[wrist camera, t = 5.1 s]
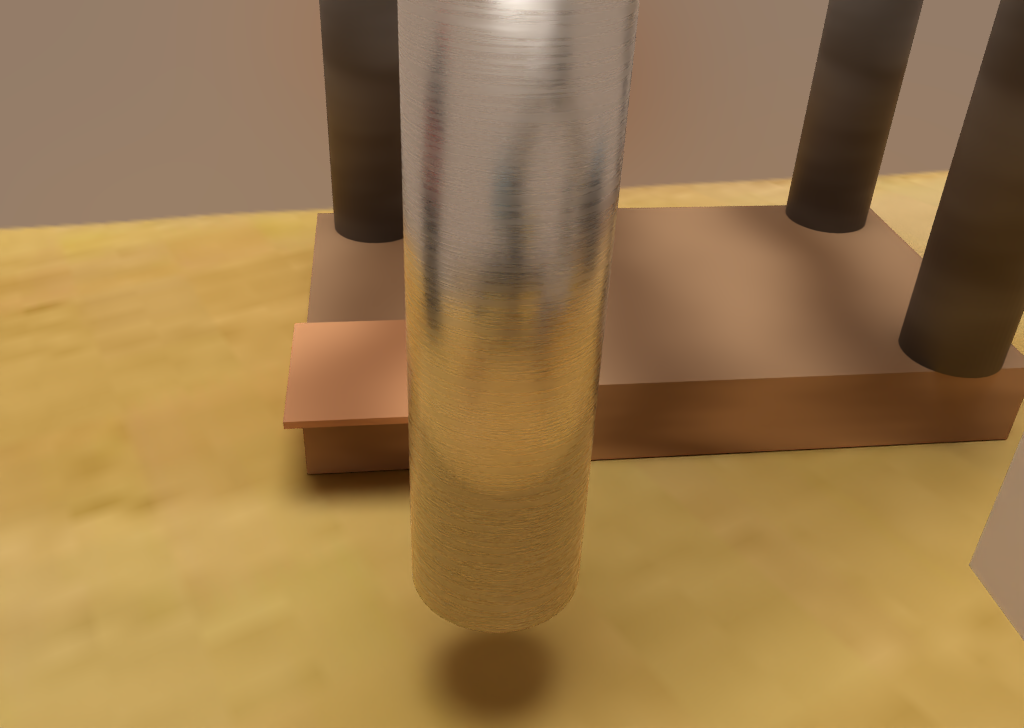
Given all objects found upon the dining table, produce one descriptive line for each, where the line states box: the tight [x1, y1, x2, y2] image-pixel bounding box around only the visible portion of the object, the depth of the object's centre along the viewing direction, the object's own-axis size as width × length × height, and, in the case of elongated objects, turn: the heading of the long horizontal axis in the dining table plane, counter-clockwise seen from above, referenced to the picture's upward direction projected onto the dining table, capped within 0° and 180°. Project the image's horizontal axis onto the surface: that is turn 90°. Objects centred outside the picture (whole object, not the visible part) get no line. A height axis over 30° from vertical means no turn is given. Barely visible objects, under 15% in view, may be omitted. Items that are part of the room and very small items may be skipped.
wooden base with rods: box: [283, 0, 1024, 474], centre depth 26 cm, size 20×13×19 cm, turn 97°
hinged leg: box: [397, 0, 639, 633], centre depth 18 cm, size 16×3×13 cm, turn 127°
